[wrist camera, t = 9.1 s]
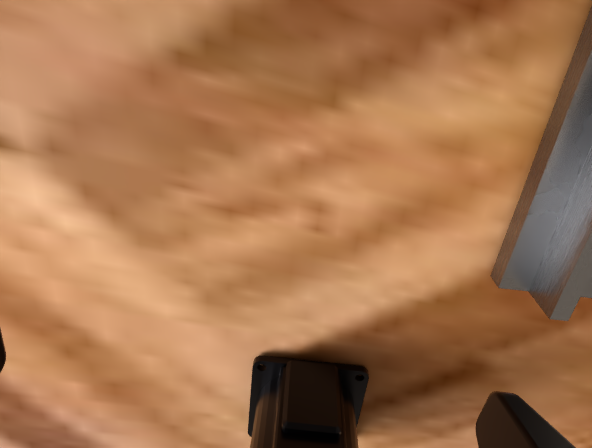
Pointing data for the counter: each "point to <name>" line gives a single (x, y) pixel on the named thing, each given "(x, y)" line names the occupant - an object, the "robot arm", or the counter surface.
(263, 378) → the robot arm
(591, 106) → the track
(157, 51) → the counter surface
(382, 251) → the counter surface
